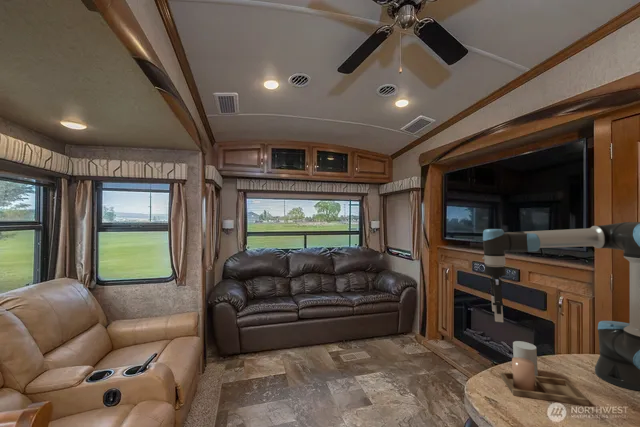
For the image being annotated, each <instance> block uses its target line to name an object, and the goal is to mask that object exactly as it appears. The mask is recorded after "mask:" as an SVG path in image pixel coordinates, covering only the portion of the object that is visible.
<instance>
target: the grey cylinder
mask: <svg viewBox="0 0 640 427" xmlns="http://www.w3.org/2000/svg"><path fill="white" fill-rule="evenodd" d="M512 353H513V358H514V357H521V358H525V359H528V360H530V361H532V362H533V363H534V369H535V376H539V372H538V355H537V354H538V349H537V346H536V345H534V344H533V343H529V342H526V341H520V340H515V341H512Z"/></svg>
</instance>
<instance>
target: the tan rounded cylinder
mask: <svg viewBox="0 0 640 427" xmlns="http://www.w3.org/2000/svg"><path fill="white" fill-rule="evenodd" d="M511 364H512V366H511V367H512V373H513V386H514V387H515V388H516V389H519V390H527V391H534V392H535V391H536V389H535V369H534V363H533V362H532V361H530V360H528V359H525V358H521V357H514V356H513V357H512V358H511Z"/></svg>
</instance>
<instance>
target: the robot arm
mask: <svg viewBox="0 0 640 427" xmlns="http://www.w3.org/2000/svg"><path fill="white" fill-rule="evenodd" d="M482 242H483V243H482V244H483V255H484V256H483V257H482V258H481V259H482V260H484V264H485V265H484V274H485V275H487V276H490V278H489V284H490V295H491V310H492V312H494V322H496V323H504V311H503V309H504V308H503V306H504V303H503V294H502V290H503V288H502V285H503V284H502V283H503V281H502V280H501V279H502V278H500V277H505V276H506V274H507V268H506V262H507V261H506V252H519V253H520V252H522V253H523V252H524V253H525V252H526V253H527V252H528V253H531V252H538V251H539V250H540V249H541V248H542V249H543V248H544V249H545V248H546V249H547V248H570V247H572V248H573V247H576V248H577V247H594V248H595V249H607V250H608V249H611V250H619V251H623V258H624V259H625V260H627V261H628V262H629V322H624V321H616V320H615V321H614V320H600V321H598V324H597V332H598V346H599V347H598V348H599V357H598V359H597V361H596V364H595V366H594V374H595V375H596V376H597V377H598V378H599V379H601V380H603V381H605V382H607V383H609V384H611V385H614V386H616V387H620V388H624V389H628V390H633V391H640V221H635V222H633V221H623V222H617V223H609V224H601V225H592V226H591V227H588V228H569V229H553V230H552V229H550V230H549V229H548V230H531V231H530V230H529V231H513V232H512V231H506V232H505V231H504V229H502V228H488V229H487V228H486V229H484V230H483V232H482Z"/></svg>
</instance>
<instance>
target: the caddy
mask: <svg viewBox="0 0 640 427" xmlns="http://www.w3.org/2000/svg"><path fill="white" fill-rule="evenodd" d="M500 378H501V379H502V381H503V383H505V385H506V387H507V388H508V390H509V391H510V393H511V395H512V396H516V397H522V398H529V399H530V398H531V399H536V400H544V401H551V402H558V403H564V404H571V405H579V406H588V407H590V400H589V399H588V398H587V397H586V396H585V395H584V394H583V393H582V392H580V391H579V389H578V388H576V387H575V386H574V384H572V383H571V382H570V381H569V380H568V379H566V378H565V379H564V378H559V377H558V378H557V377H549V376H542V375H541V376H540V375H538V376H535V389H536V391H535V392H534V391H527V390H519V389H516V388H515V387H514V386H513V372H507V371H500Z"/></svg>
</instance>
